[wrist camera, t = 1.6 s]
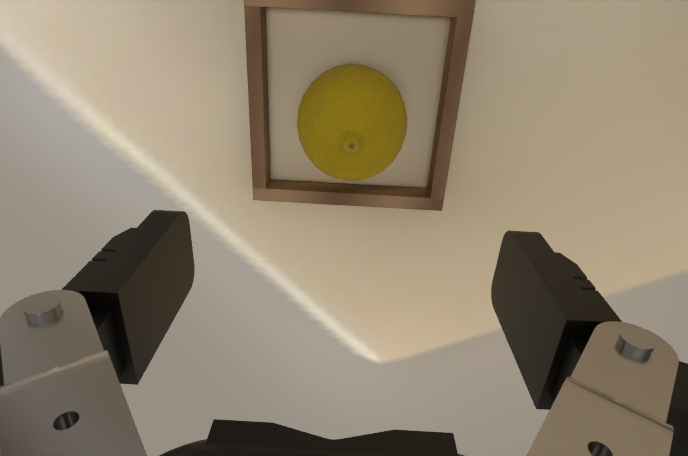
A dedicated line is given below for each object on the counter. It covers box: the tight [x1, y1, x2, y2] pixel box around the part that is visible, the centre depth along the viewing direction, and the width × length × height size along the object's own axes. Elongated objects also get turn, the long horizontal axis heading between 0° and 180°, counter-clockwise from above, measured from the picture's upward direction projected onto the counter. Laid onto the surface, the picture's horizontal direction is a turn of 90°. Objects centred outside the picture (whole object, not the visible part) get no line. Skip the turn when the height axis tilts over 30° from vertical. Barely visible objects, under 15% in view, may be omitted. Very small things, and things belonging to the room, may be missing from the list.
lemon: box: [297, 64, 407, 181], centre depth 24 cm, size 6×6×8 cm
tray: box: [244, 0, 476, 211], centre depth 26 cm, size 12×12×2 cm
